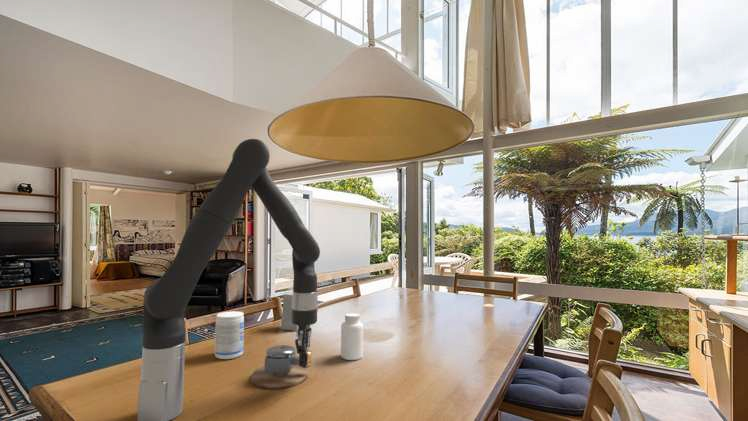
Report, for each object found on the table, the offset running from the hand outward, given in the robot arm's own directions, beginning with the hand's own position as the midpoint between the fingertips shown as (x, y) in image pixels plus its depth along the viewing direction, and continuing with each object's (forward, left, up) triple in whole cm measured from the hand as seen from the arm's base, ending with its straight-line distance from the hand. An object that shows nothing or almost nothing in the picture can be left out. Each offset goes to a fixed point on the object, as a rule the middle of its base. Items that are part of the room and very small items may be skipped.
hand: (303, 365), depth 108 cm
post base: (+5, +8, -6) cm, 11 cm away
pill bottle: (+24, -13, -6) cm, 28 cm away
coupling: (+5, +6, -2) cm, 8 cm away
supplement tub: (+23, +31, -6) cm, 39 cm away
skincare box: (+58, +16, -6) cm, 60 cm away
